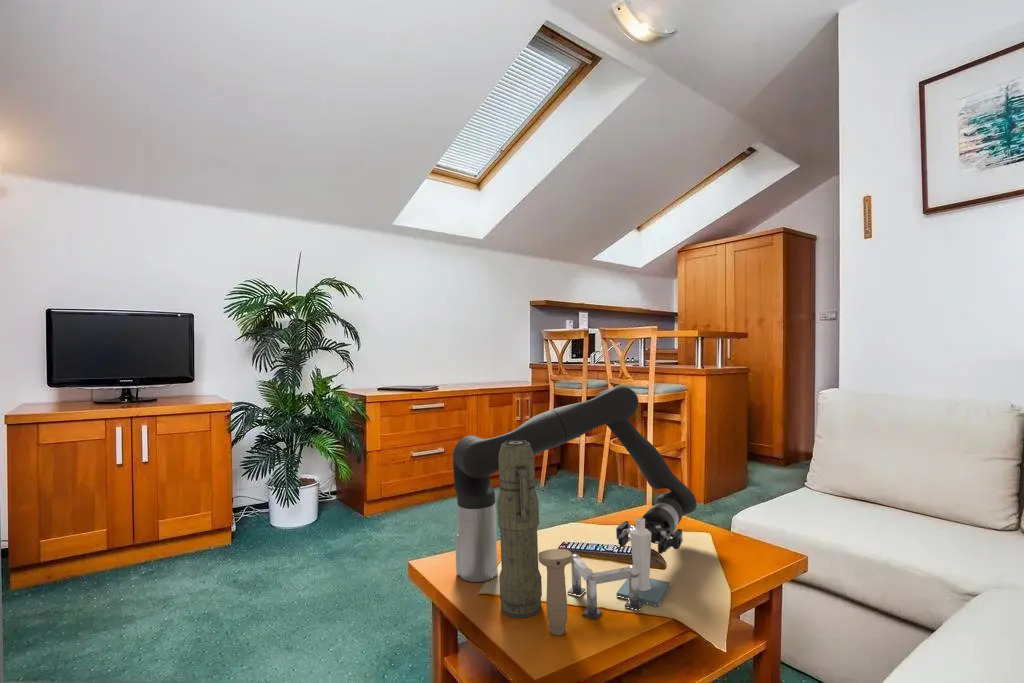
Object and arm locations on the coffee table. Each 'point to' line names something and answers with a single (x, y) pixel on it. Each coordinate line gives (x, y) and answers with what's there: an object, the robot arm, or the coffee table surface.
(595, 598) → the bent rail
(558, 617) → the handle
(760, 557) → the coffee table surface
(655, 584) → the slate mat
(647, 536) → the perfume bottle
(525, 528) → the thermos
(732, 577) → the coffee table surface
